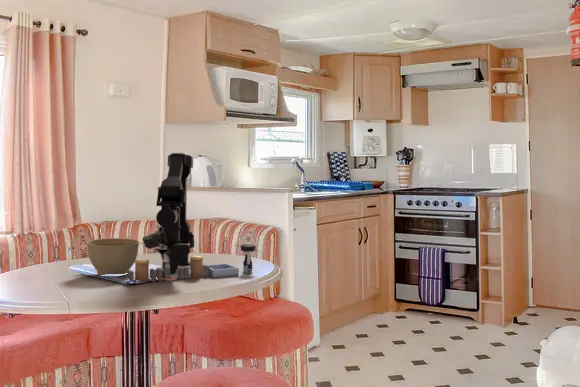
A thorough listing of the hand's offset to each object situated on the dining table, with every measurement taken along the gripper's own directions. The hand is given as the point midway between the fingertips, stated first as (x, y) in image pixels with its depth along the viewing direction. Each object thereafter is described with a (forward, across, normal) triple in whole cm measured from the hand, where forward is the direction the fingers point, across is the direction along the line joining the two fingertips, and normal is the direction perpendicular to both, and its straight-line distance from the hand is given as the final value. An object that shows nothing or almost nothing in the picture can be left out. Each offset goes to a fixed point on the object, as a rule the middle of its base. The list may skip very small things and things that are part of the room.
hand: (169, 272), depth 182 cm
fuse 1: (+2, 0, -9) cm, 9 cm away
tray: (+2, -1, +18) cm, 18 cm away
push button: (+2, 0, +28) cm, 28 cm away
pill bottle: (+2, 0, 0) cm, 2 cm away
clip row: (+2, 0, 0) cm, 2 cm away
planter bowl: (+2, -14, -14) cm, 20 cm away
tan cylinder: (+2, 0, +9) cm, 9 cm away
